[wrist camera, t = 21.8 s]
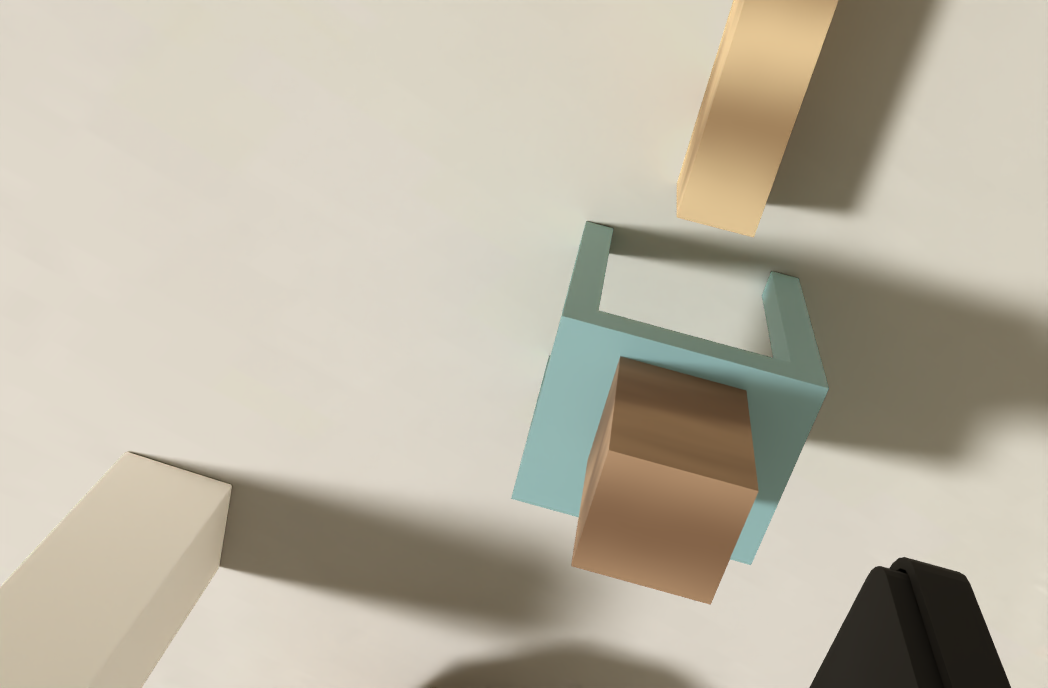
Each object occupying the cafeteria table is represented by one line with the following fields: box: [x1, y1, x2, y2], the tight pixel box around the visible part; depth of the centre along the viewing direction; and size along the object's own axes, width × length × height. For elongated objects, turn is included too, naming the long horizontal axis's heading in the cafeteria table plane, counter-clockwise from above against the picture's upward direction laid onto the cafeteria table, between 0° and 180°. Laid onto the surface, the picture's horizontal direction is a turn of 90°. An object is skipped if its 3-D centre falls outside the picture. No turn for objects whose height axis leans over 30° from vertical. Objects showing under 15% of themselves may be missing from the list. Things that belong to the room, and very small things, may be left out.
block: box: [571, 356, 759, 605], centre depth 32 cm, size 4×4×6 cm
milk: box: [0, 452, 232, 688], centre depth 43 cm, size 6×6×22 cm
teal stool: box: [511, 221, 829, 565], centre depth 39 cm, size 8×9×10 cm
